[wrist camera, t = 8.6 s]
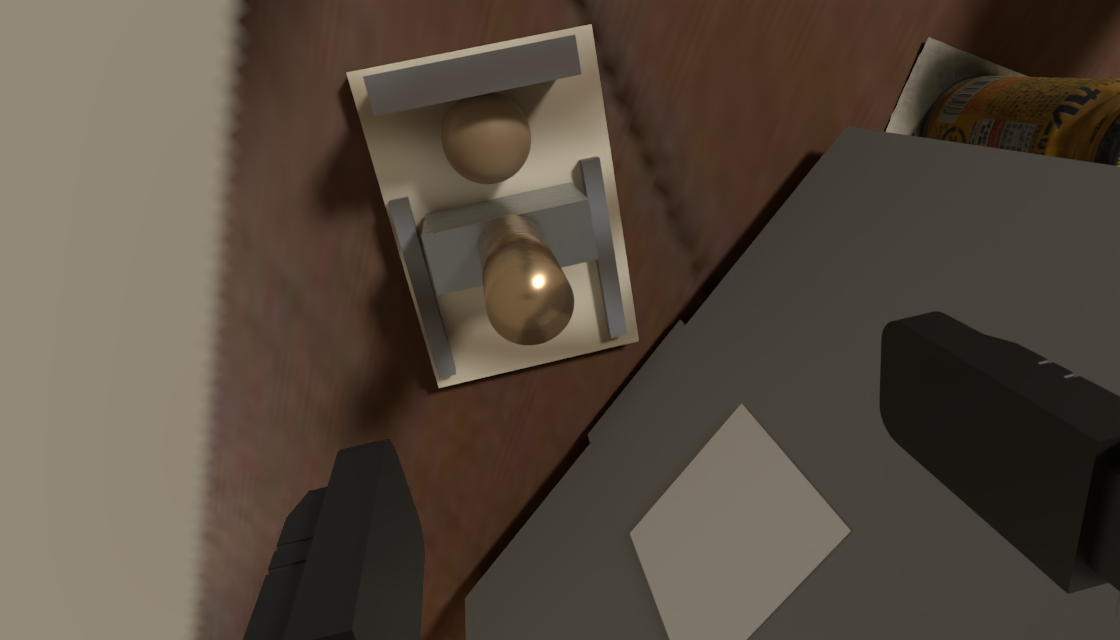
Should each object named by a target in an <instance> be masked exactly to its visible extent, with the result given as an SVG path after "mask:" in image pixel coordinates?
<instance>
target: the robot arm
mask: <svg viewBox="0 0 1120 640" xmlns="http://www.w3.org/2000/svg"><path fill="white" fill-rule="evenodd" d="M879 407H880V414H881V418H882V421H883V423H884V426H885V428H886V430H887V432H888V433H889V435H890V436H891V438H892V439H893V440H894V441H895V442H896V443H897V444H898V445H899V446H900V447H901V448H903V449H904V450H905V451H906V452H907V453H908V454H909V455H910V456H912V457H913V458H914V459H915V460H916V461H917V462H918V463H920V464H921V465H922V466H923V467H924V468H925V469H926V470H927V471H929V472H930V473H931V474H932V475H933V476H934V477H935V478H937V479H938V480H939V481H940V482H941V483H942V484H943V485H945V486H946V487H947V488H948V489H949V490H950V491H951V492H952V493H954V494H955V495H956V496H957V497H958V498H959V499H960V500H962V501H963V502H964V503H965V504H966V505H967V506H968V507H969V508H971V509H972V510H973V511H974V512H975V513H976V514H977V515H979V516H980V517H981V518H982V519H983V520H984V521H985V522H987V523H988V524H989V525H990V526H991V527H992V528H993V529H994V530H996V531H997V532H998V533H999V534H1000V535H1001V536H1002V537H1004V538H1005V539H1006V540H1007V541H1008V542H1009V543H1010V544H1011V545H1013V546H1014V547H1015V548H1016V549H1017V550H1018V551H1019V552H1021V553H1022V554H1023V555H1024V556H1025V557H1026V558H1027V559H1029V560H1030V561H1031V562H1032V563H1033V564H1034V565H1035V566H1036V567H1038V568H1039V569H1040V570H1041V571H1042V572H1043V573H1044V574H1046V575H1047V576H1048V577H1049V578H1050V579H1051V580H1052V581H1053V582H1055V583H1056V584H1057V585H1058V586H1059V587H1060V588H1061V589H1063V590H1064V591H1065V592H1066V593H1067V594H1070V593H1074V592H1077V591H1081V590H1085V589H1088V588H1092V587H1096V586H1099V585H1103V584H1107V583H1110V584H1111V585H1112V586H1113V587H1115V588H1116V589H1117V590H1118V591H1119V592H1120V396H1118V395H1116V394H1114V393H1112V392H1110V391H1108V390H1106V389H1105V388H1103V387H1101V386H1099V385H1097V384H1095V383H1093V382H1091V381H1089V380H1087V379H1085V378H1083V377H1081V376H1078V377H1075V376H1074V374H1073V372H1072V371H1070V370H1068V369H1066V368H1064V367H1062V366H1060V365H1058V364H1056V363H1054V362H1052V363H1048V361H1047V359H1046V358H1044V357H1042V356H1041V355H1039V354H1037V353H1035V352H1033V351H1031V350H1029V349H1027V348H1025V347H1023V346H1021V345H1019V344H1017V343H1014V342H1011V341H1007V340H1004V339H1000V338H996V337H993V336H989V335H985V334H982V333H980V332H979V331H977V330H975V329H973V328H971V327H969V326H967V325H965V324H963V323H962V322H960V321H958V320H956V319H954V318H952V317H950V316H948V315H947V314H945V313H942V312H938V311H933V312H929V313H925V314H920V315H916V316H912V317H908V318H903V319H899V320H895V321H891V322H889V323H888V324H886V326H885V327H884V329H883V332H882V338H881V367H880V398H879ZM424 561H425V552H424V541H423V534H422V529H421V524H420V520H419V517H418V514H417V511H416V508H415V505H414V502H413V499H412V496H411V493H410V490H409V487H408V484H407V481H406V478H405V476H404V473H403V470H402V467H401V464H400V461H399V458H398V455H397V452H396V449H395V447H394V445H393V443H392V442H391V440H390V439H384V440H380V441H376V442H371V443H367V444H363V445H359V446H354V447H350V448H346V449H342V450H340V451H339V452H338V453H337V456H336V459H335V463H334V466H333V470H332V473H331V477H330V480H329V484H328V487H324V488H320V489H316V490H312V491H309V492H308V493H307V494H306V495H305V497H304V498H303V499H302V500H301V501H300V503H299V504H298V505H297V506H296V507H295V508H294V510H293V511H292V512H291V513H290V514H289V516H288V517H287V518H286V521H285V524H284V527H283V529H282V532H281V535H280V538H279V541H278V543H277V551H275V552H274V554H273V557H272V560H271V563H270V566H269V568H268V570H269V575H266V577H265V580H264V582H263V585H262V588H261V591H260V594H259V596H258V599H257V602H256V605H255V608H254V610H253V613H252V616H251V619H250V622H249V624H248V627H247V630H246V633H245V635H244V638H243V640H420V631H421V614H422V596H423V578H424ZM1116 617H1117V621H1118V625H1119V629H1120V593H1119V597H1118V601H1117V605H1116Z"/></svg>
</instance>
